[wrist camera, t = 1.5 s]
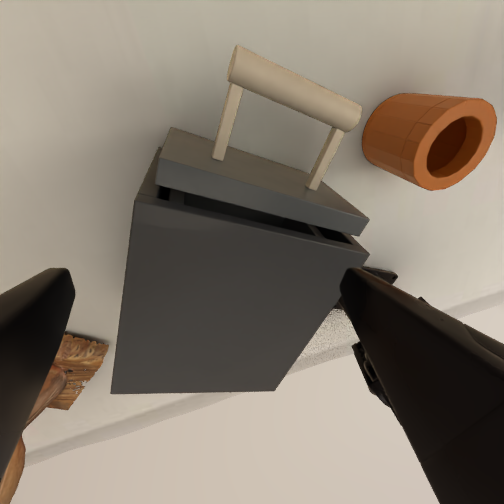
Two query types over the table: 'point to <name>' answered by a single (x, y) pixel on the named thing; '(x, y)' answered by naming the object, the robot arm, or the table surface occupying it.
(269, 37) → the table surface
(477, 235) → the table surface
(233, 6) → the table surface
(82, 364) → the bird sculpture
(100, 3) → the table surface
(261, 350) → the cabinet
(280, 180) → the drawer
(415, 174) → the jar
